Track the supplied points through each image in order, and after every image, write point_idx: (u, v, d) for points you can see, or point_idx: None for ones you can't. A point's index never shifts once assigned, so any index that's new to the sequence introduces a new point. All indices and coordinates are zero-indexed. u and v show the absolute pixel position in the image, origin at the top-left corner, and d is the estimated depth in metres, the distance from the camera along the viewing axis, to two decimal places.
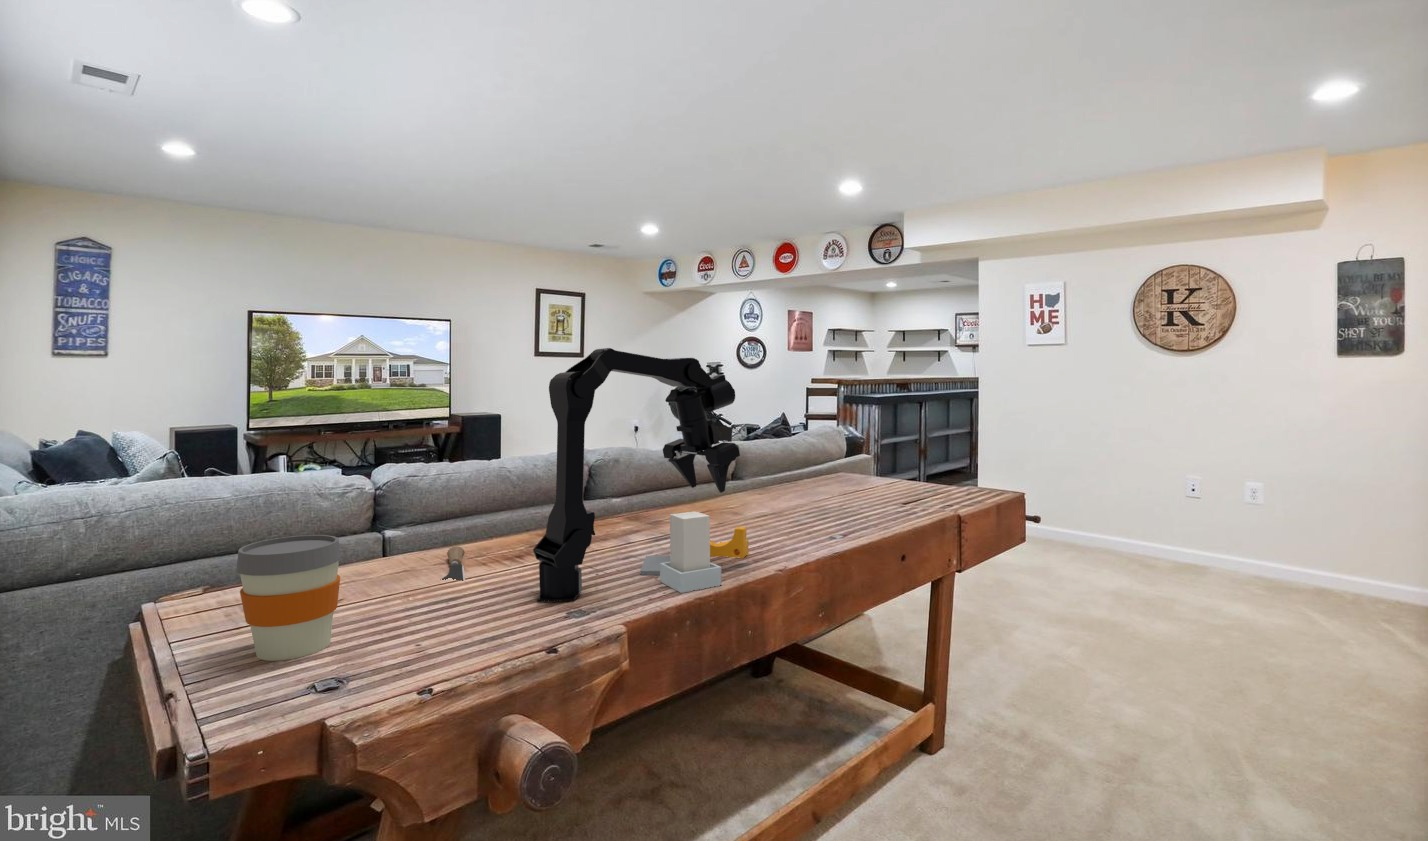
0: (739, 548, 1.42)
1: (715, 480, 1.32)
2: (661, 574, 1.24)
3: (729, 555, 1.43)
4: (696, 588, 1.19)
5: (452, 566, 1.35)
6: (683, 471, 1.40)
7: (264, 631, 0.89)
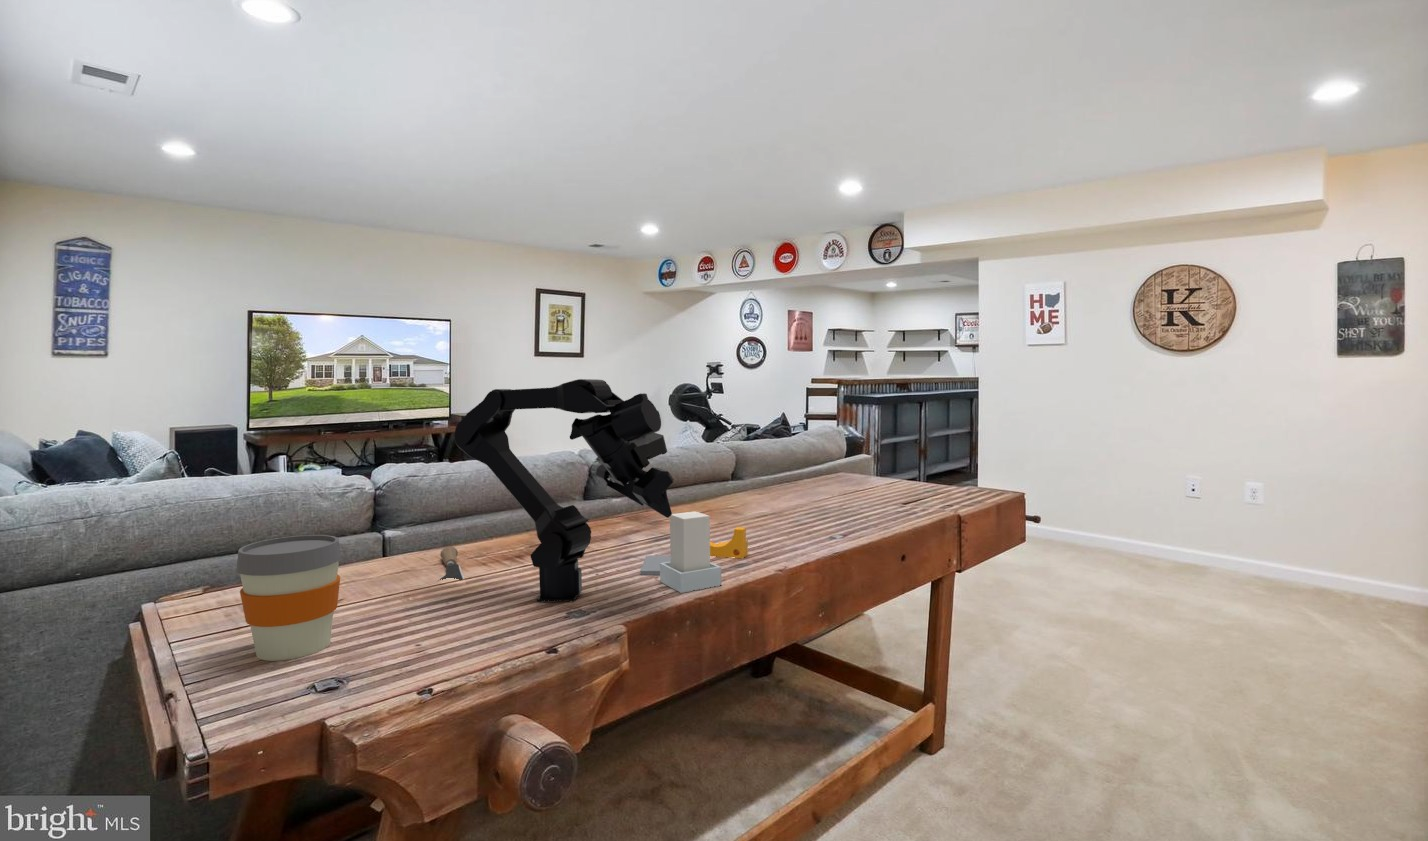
0: (739, 548, 1.41)
1: (655, 510, 1.14)
2: (661, 574, 1.24)
3: (729, 555, 1.42)
4: (696, 588, 1.19)
5: (448, 566, 1.34)
6: (625, 494, 1.21)
7: (264, 631, 0.89)
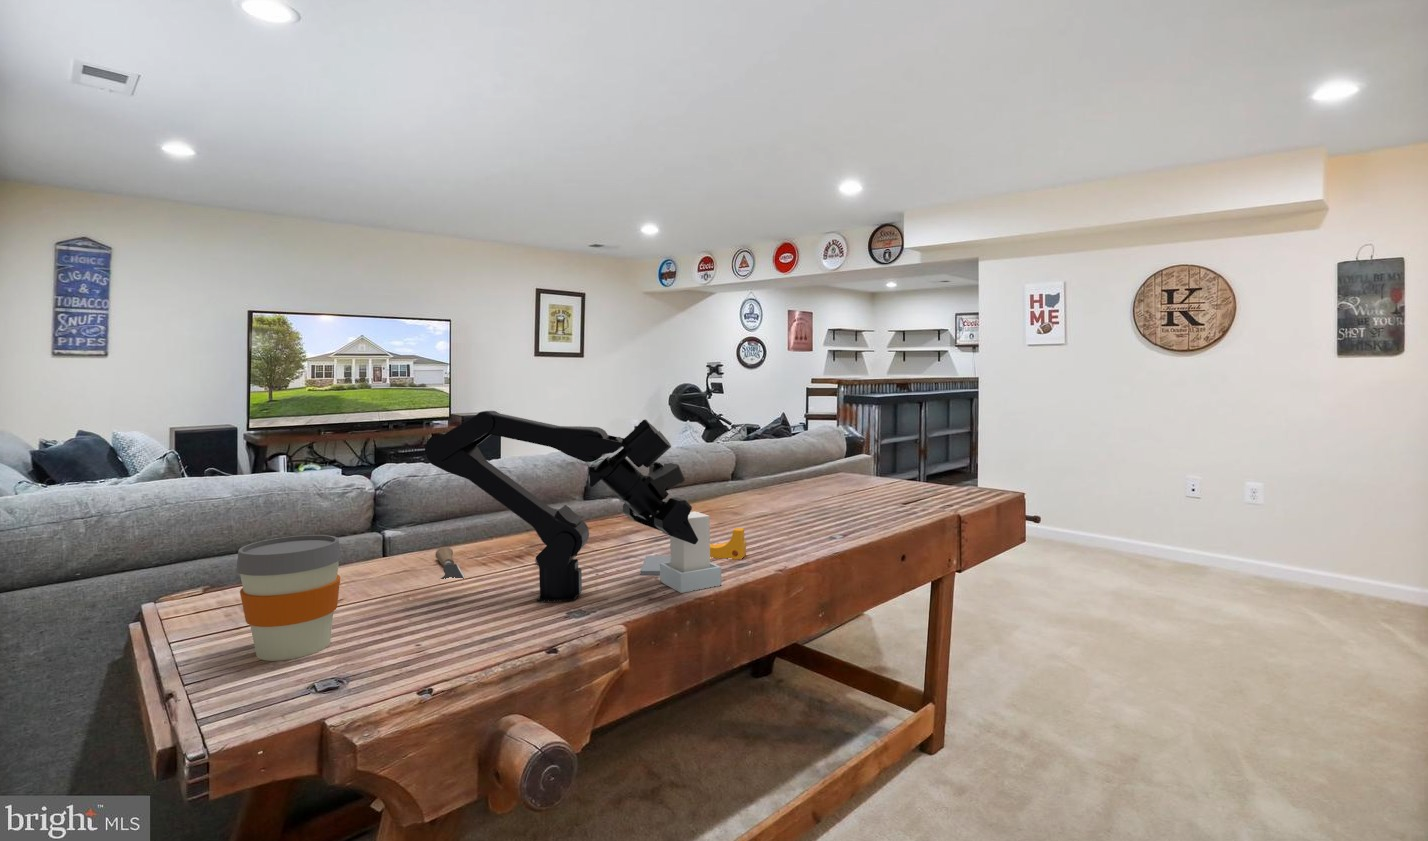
0: (737, 549, 1.41)
1: (681, 539, 1.16)
2: (661, 574, 1.24)
3: (727, 556, 1.41)
4: (696, 588, 1.19)
5: (446, 566, 1.35)
6: (653, 526, 1.24)
7: (264, 631, 0.89)
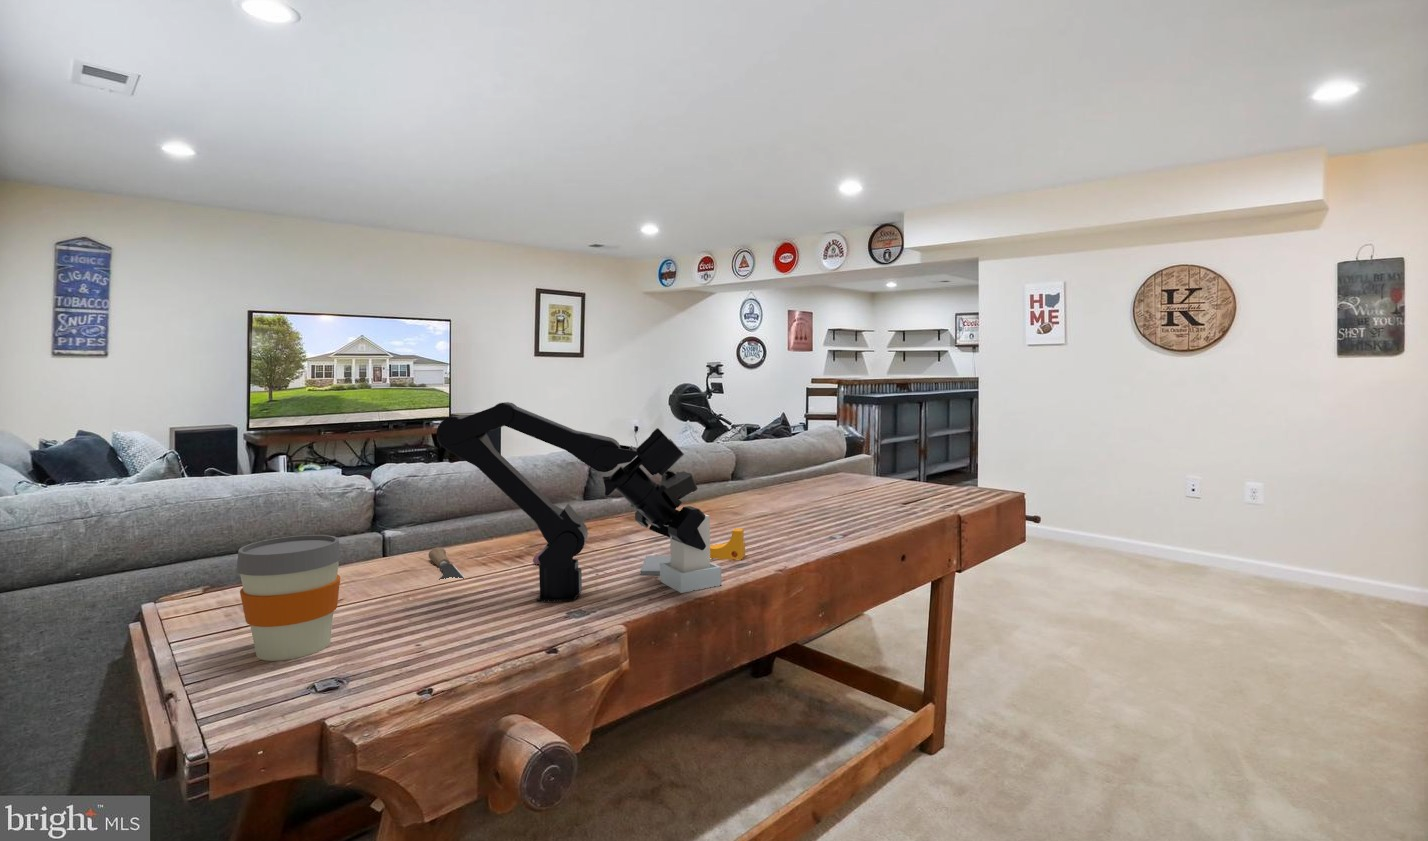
0: (737, 550, 1.40)
1: (689, 545, 1.19)
2: (661, 574, 1.24)
3: (726, 557, 1.41)
4: (696, 588, 1.19)
5: (443, 566, 1.35)
6: (669, 535, 1.24)
7: (264, 631, 0.89)
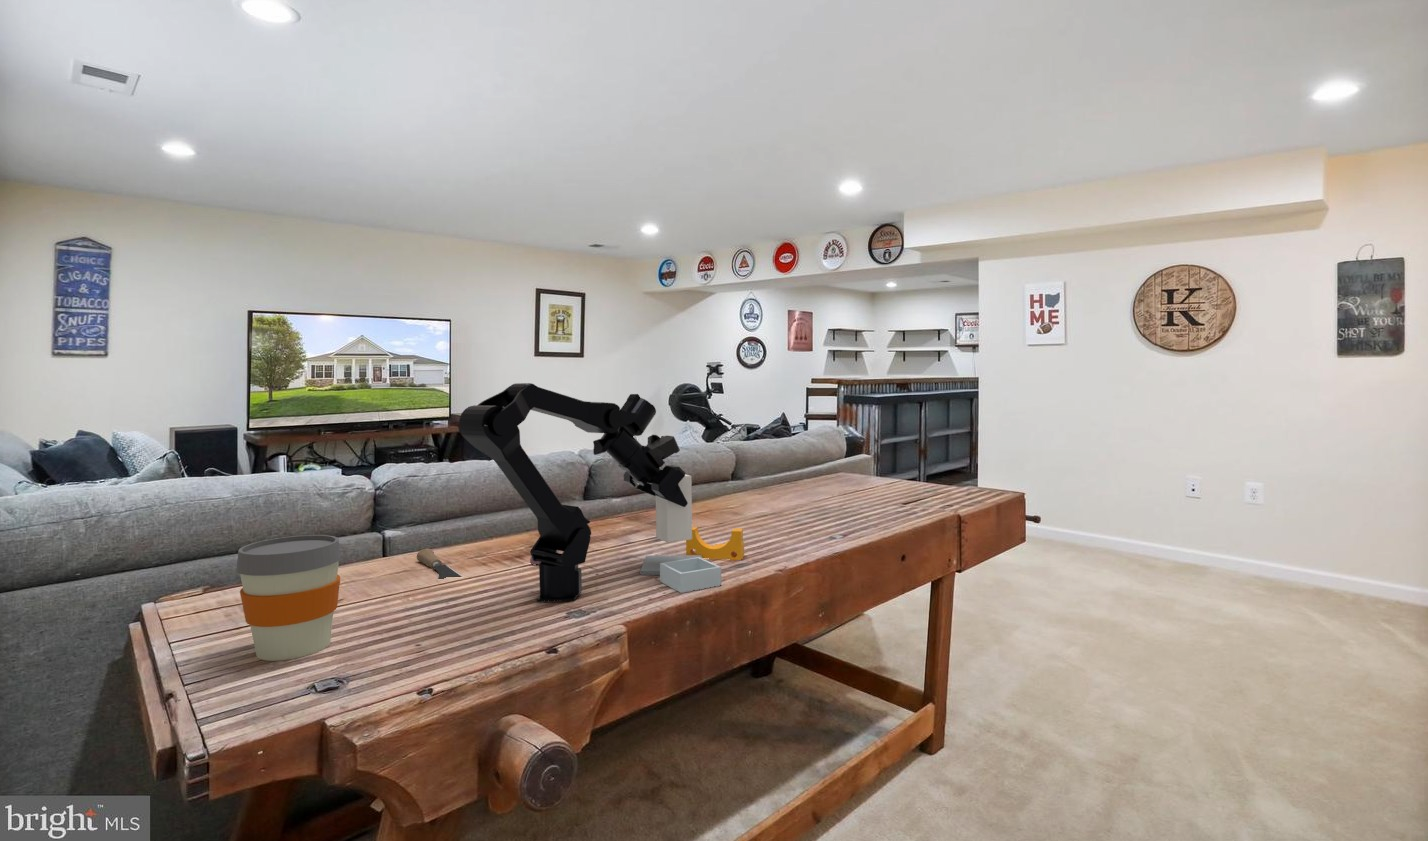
0: (736, 550, 1.40)
1: None
2: (661, 574, 1.24)
3: (726, 557, 1.40)
4: (696, 588, 1.19)
5: (436, 567, 1.34)
6: (654, 494, 1.35)
7: (264, 631, 0.89)
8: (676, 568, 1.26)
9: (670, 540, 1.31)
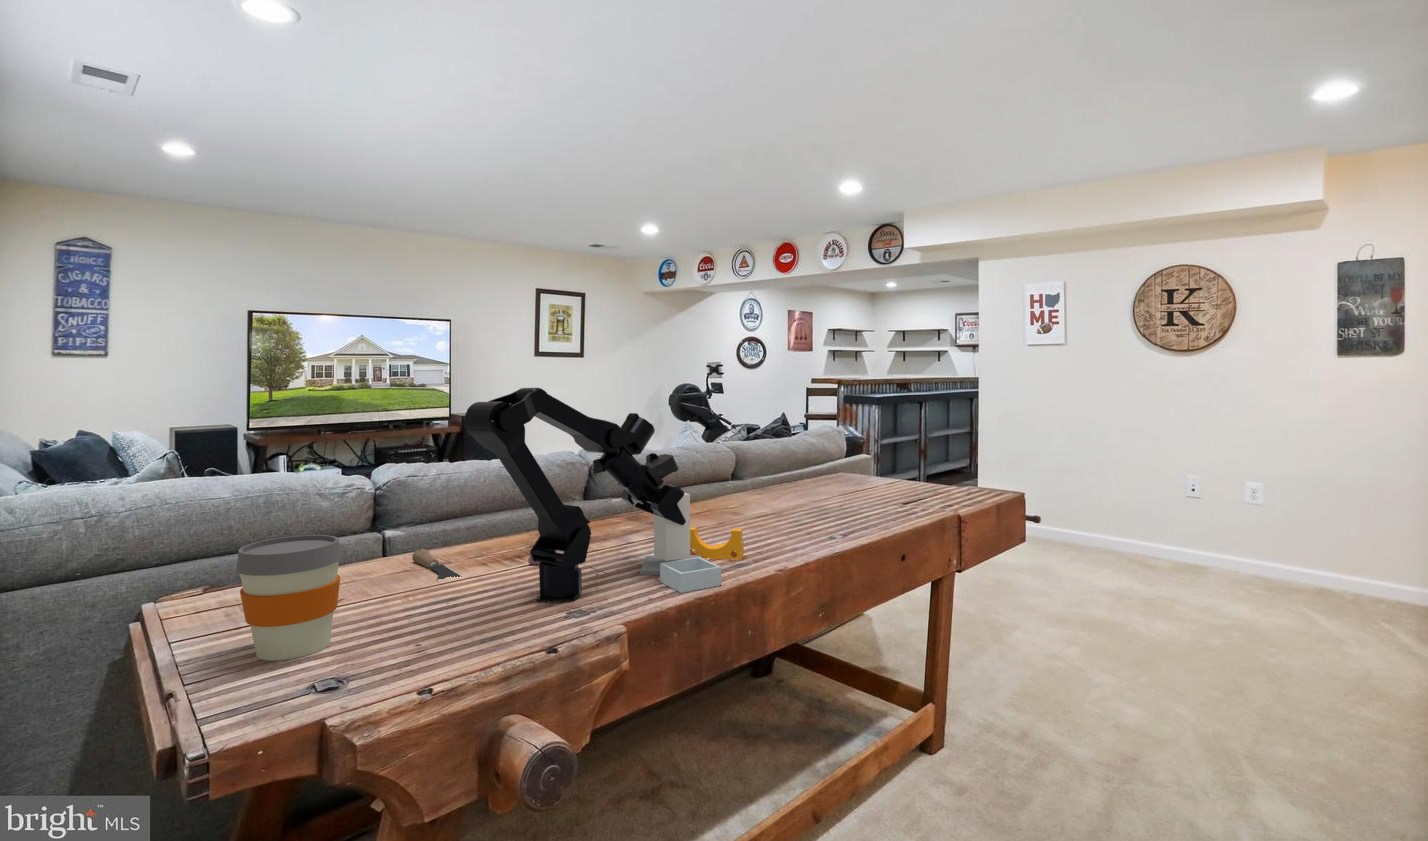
0: (736, 550, 1.40)
1: (670, 520, 1.31)
2: (661, 574, 1.24)
3: (726, 557, 1.41)
4: (696, 588, 1.19)
5: (434, 567, 1.34)
6: (652, 512, 1.36)
7: (264, 631, 0.89)
8: (676, 568, 1.26)
9: (668, 558, 1.32)
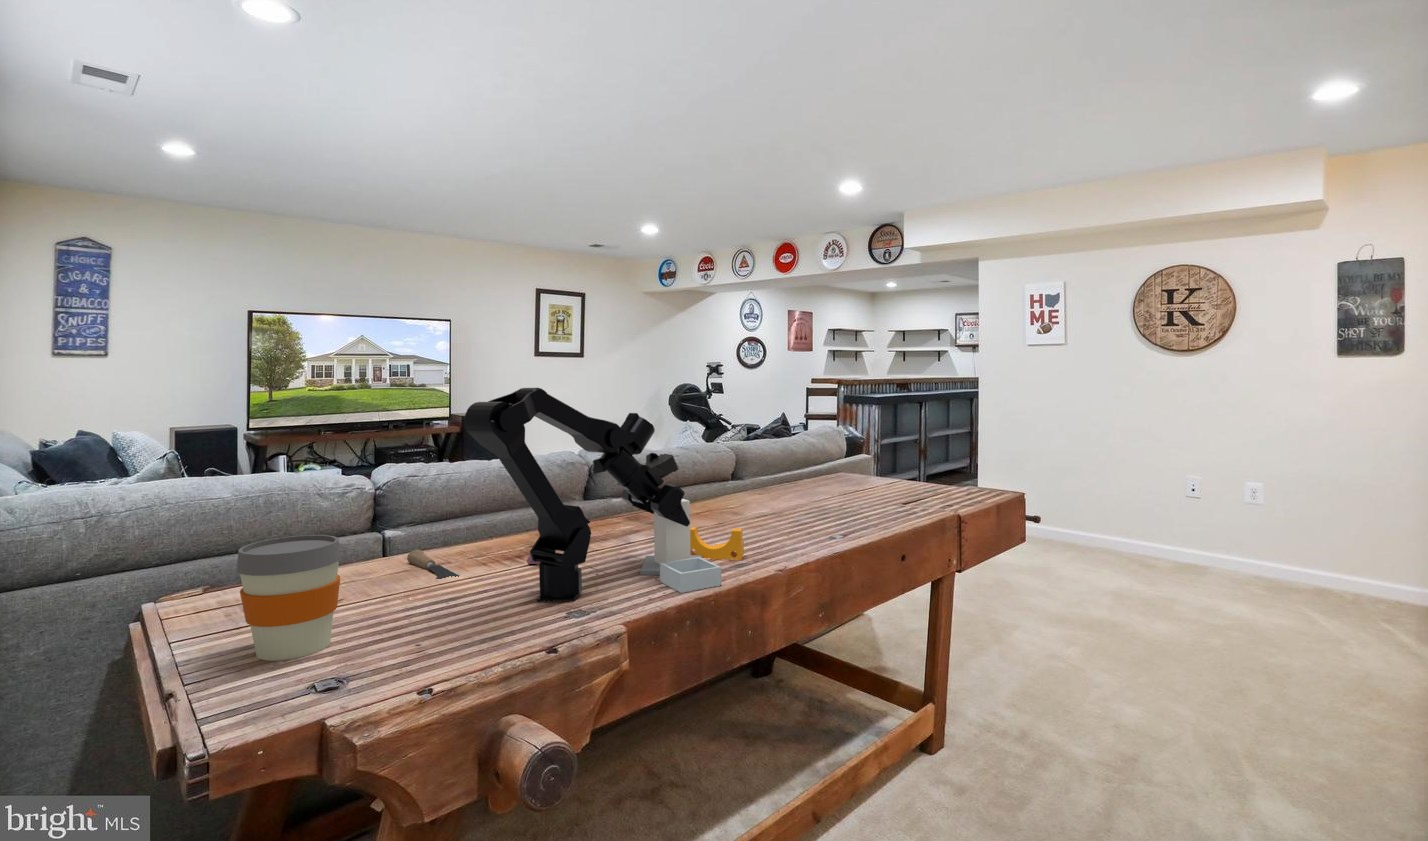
0: (736, 550, 1.40)
1: (674, 521, 1.29)
2: (661, 574, 1.24)
3: (726, 557, 1.41)
4: (696, 588, 1.19)
5: (431, 567, 1.34)
6: (649, 511, 1.38)
7: (264, 631, 0.89)
8: (676, 568, 1.26)
9: None
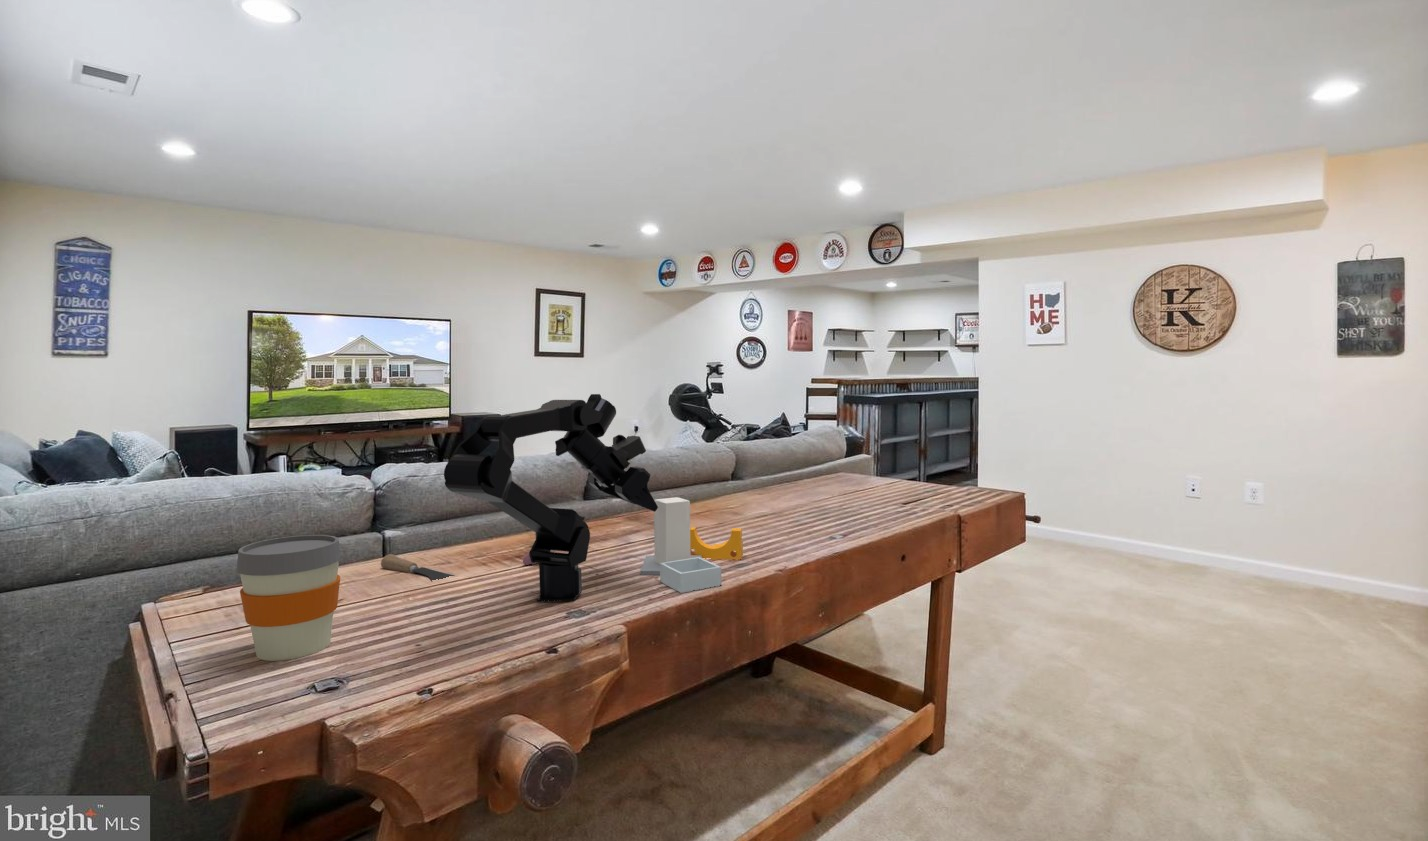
0: (736, 550, 1.40)
1: (641, 506, 1.23)
2: (661, 574, 1.24)
3: (725, 557, 1.41)
4: (696, 588, 1.19)
5: (416, 570, 1.32)
6: (616, 495, 1.31)
7: (264, 631, 0.89)
8: (676, 568, 1.26)
9: None
